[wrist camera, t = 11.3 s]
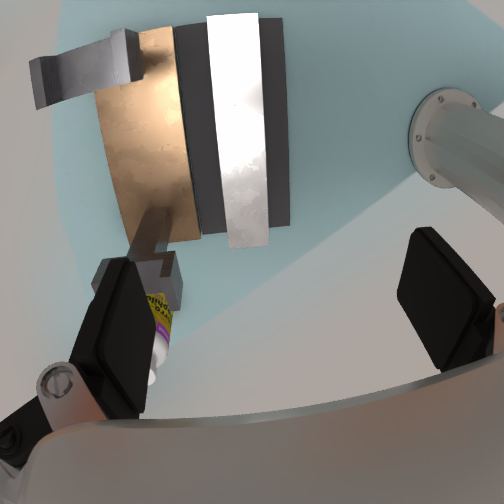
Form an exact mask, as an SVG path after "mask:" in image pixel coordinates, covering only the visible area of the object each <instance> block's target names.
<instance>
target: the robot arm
mask: <svg viewBox="0 0 504 504" xmlns="http://www.w3.org/2000/svg"><path fill="white" fill-rule="evenodd" d="M409 150H410V155H411V159H412V162H413V164H414V167H415V168H416V170H417V172H418V173H419V174H420V175H421V176H422V177H423V179H425V180H426V181H427V182H429V183H430V184H432V185H434V186H436V187H440V188H453V187H457V188H458V189H460V190H461V191H462V192H464V193H465V194H466V195H468V196H469V197H470V198H472V199H473V200H474V201H476V202H477V203H478V204H479V205H481V206H482V207H483V208H484V209H486V210H487V211H489V212H490V213H491V214H492V215H493V216H494V217H495V218H497V219H498V220H499V221H500V222H501V223H503V224H504V119H502V118H500V117H497V116H495V115H492V114H490V113H487V112H485V111H483V110H482V108H481V106H480V105H479V103H478V102H477V101H476V100H475V99H474V98H473V97H472V96H471V95H470V94H468V93H466V92H464V91H462V90H459V89H454V88H443V89H440V90H437V91H435V92H433V93H431V94H430V95H428V96H427V97H426V98H425V99H424V100H423V101H422V103H421V104H420V105H419V107H418V108H417V110H416V112H415V114H414V117H413V119H412V123H411V126H410V133H409ZM397 299H398V301H399V303H400V305H401V306H402V308H403V309H404V311H405V313H406V315H407V316H408V318H409V320H410V321H411V323H412V325H413V327H414V329H415V330H416V332H417V334H418V336H419V338H420V339H421V341H422V343H423V345H424V347H425V349H426V350H427V352H428V354H429V356H430V358H431V360H432V362H433V364H434V366H435V367H436V368H437V369H440V371H441V374H438V375H434V376H431V377H428V378H425V379H421V380H418V381H415V382H411V383H408V384H404V385H401V386H397V387H393V388H390V389H386V390H382V391H378V392H374V393H370V394H365V395H361V396H357V397H352V398H347V399H343V400H338V401H333V402H328V403H322V404H316V405H311V406H305V407H298V408H292V409H285V410H278V411H270V412H262V413H253V414H243V415H232V416H218V417H201V418H179V419H139V414H140V413H143V412H144V410H145V403H146V394H147V387H148V380H149V373H150V366H151V359H152V352H153V346H154V340H155V334H156V321H155V318H154V315H153V313H152V310H151V307H150V304H149V302H148V299H147V296H146V293H145V290H144V287H143V284H142V281H141V278H140V275H139V272H138V269H137V266H136V264H135V262H134V261H130V260H129V258H127V257H125V258H116V259H111V260H110V262H109V264H108V266H107V268H106V271H105V273H104V275H103V277H102V280H101V282H100V284H99V287H98V289H97V292H96V294H95V296H94V299H93V301H91V303H90V305H89V307H88V310H87V312H86V315H85V318H84V320H83V323H82V325H81V328H80V331H79V333H78V336H77V339H76V341H75V344H74V347H73V350H72V353H71V356H70V359H69V362H57V363H54V364H52V365H49V366H48V367H47V368H46V369H44V371H43V372H42V373H41V374H40V376H39V378H38V380H37V385H36V390H37V396H36V397H35V398H33V399H32V400H31V401H29V402H27V403H26V404H25V405H23V406H22V407H21V408H19V409H18V410H16V411H15V412H14V413H12V414H11V415H10V416H8V417H7V418H5V419H4V420H3V421H1V422H0V504H504V303H502V304H499V305H498V306H497V308H496V309H495V307H494V306H493V304H494V302H495V300H496V298H495V297H494V296H493V295H492V293H491V292H490V291H489V289H488V288H487V287H486V286H485V285H484V284H483V282H482V281H481V280H480V279H479V278H478V276H477V275H476V274H475V273H474V272H473V271H472V269H471V268H470V267H469V266H468V265H467V264H466V263H465V262H464V260H462V258H461V257H460V256H459V255H458V254H457V253H456V252H455V251H454V249H453V248H452V247H451V246H450V245H449V244H448V243H447V242H446V241H445V240H444V239H443V238H442V237H441V236H440V235H439V234H438V233H437V232H436V231H435V230H434V229H433V228H432V227H420V228H416V229H415V231H414V232H413V233H412V234H411V236H410V240H409V245H408V249H407V253H406V258H405V262H404V266H403V270H402V274H401V278H400V282H399V286H398V289H397Z"/></svg>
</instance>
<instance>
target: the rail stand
mask: <svg viewBox="0 0 504 504" xmlns="http://www.w3.org/2000/svg"><path fill="white" fill-rule="evenodd" d="M110 33H111V38H108V39H105V40H101V41H98V42H95V43H91V44H88V45H85V46H82V47H79V48H76V49H73V50H70V51H67V52H65V53H62V54H59V55H57V56H43V57H38V58H35V59H33V60H31V61H29V66H30V74H31V81H32V88H33V94H34V100H35V105H36V110H38V109H41V108H44V107H47V106H49V105H52V104H55V103H58V102H61V101H64V100H67V99H70V98H73V97H76V96H80V95H83V94H86V93H90V92H93V91H94V93H95V100H96V106H97V111H98V117H99V122H100V128H101V133H102V138H103V143H104V147H105V152H106V157H107V161H108V165H109V170H110V174H111V178H112V182H113V186H114V190H115V194H116V198H117V202H118V206H119V209H120V213H121V217H122V220H123V224H124V227H125V231H126V234H127V238H128V241H129V244H130V249H129V251H128V254H127V256H124V257H116V258H125V257H127V258H129V260H130V261H134V262H135V264H136V266H137V269H138V272H139V275H140V278H141V281H142V284H143V287H144V290H145V293H146V294H156V293H164V295H165V298H166V301H167V304H168V307H169V311H178V310H180V306H181V297H182V288H183V281H182V277H181V273H180V269H179V265H178V261H177V256H176V252H175V251H168V252H166V251H167V246H168V243H171V242H180V241H189V240H198V239H201V228H200V222H199V216H198V210H197V204H196V198H195V191H194V185H193V178H192V172H191V165H190V158H189V151H188V144H187V136H186V129H185V121H184V113H183V105H182V97H181V89H180V80H179V71H178V62H177V52H176V42H175V31H174V27H173V26H169V27H163V28H158V29H153V30H148V31H143V32H139V33H137V32H134V31H131V30H128V29H125V28H124V29H120V30H116V31H112V32H110ZM116 258H107V259H102V261H101V263H100V265H99V267H98V270H97V272H96V274H95V276H94V278H93V281H92V283H91V285H92V288H93V290H94V292H95V294H96V292H97V289H98V287H99V284H100V282H101V280H102V277H103V275H104V273H105V271H106V268H107V266H108V264H109V262H110V260H111V259H116Z"/></svg>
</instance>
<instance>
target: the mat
mask: <svg viewBox="0 0 504 504" xmlns="http://www.w3.org/2000/svg"><path fill="white" fill-rule="evenodd" d="M258 26H259V42H260V58H261V75H262V93H263V112H264V132H265V152H266V175H267V199H268V225H269V228H270V227H280V226H290V192H289V147H288V117H287V93H286V72H285V54H284V37H283V23H282V18H258ZM176 38H177V48H178V58H179V68H180V77H181V86H182V94H183V103H184V111H185V119H186V126H187V134H188V141H189V149H190V156H191V163H192V170H193V177H194V183H195V190H196V196H197V203H198V209H199V215H200V221H201V227H202V233H203V235H204V234H213V233H222V232H227V224H226V216H225V206H224V197H223V188H222V178H221V169H220V159H219V149H218V139H217V129H216V118H215V107H214V96H213V85H212V73H211V62H210V49H209V37H208V24H207V22H205V23H197V24H190V25H183V26H177V27H176Z"/></svg>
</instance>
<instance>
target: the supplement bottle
mask: <svg viewBox="0 0 504 504" xmlns="http://www.w3.org/2000/svg"><path fill="white" fill-rule="evenodd" d="M146 296H147V299H148V302H149V304H150V307H151V310H152V313H153V315H154V318H155V321H156V334H155V340H154V346H153V352H152V359H151V366H150V373H149V380H148V385H151V384H152V383H153V382H154V381H155V379H156V374H157V367H158V366H160V365H161V364H162V363H163V362H164V361H165V359H166V358H167V355H168V349H169V340H170V332H171V324H172V317H173V311H169V307H168V304H167V301H166V298H165V295H164V293H156V294H146Z"/></svg>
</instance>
